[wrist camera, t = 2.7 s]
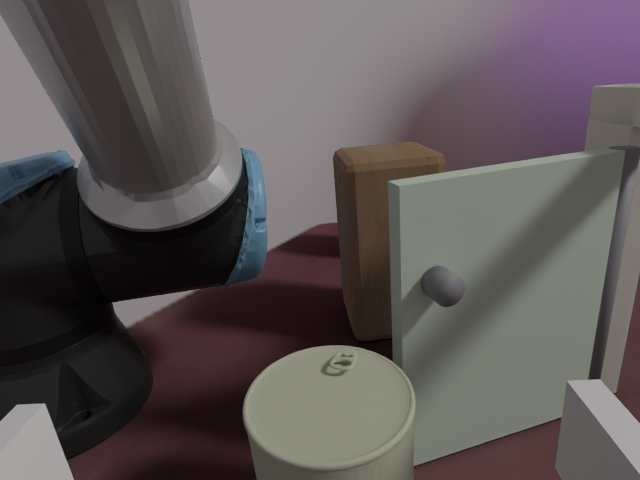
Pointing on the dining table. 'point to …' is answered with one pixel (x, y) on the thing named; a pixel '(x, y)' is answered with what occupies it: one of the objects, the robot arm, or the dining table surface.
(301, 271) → the dining table surface
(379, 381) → the can
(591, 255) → the door
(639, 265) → the door frame
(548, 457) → the dining table surface
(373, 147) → the wooden block
